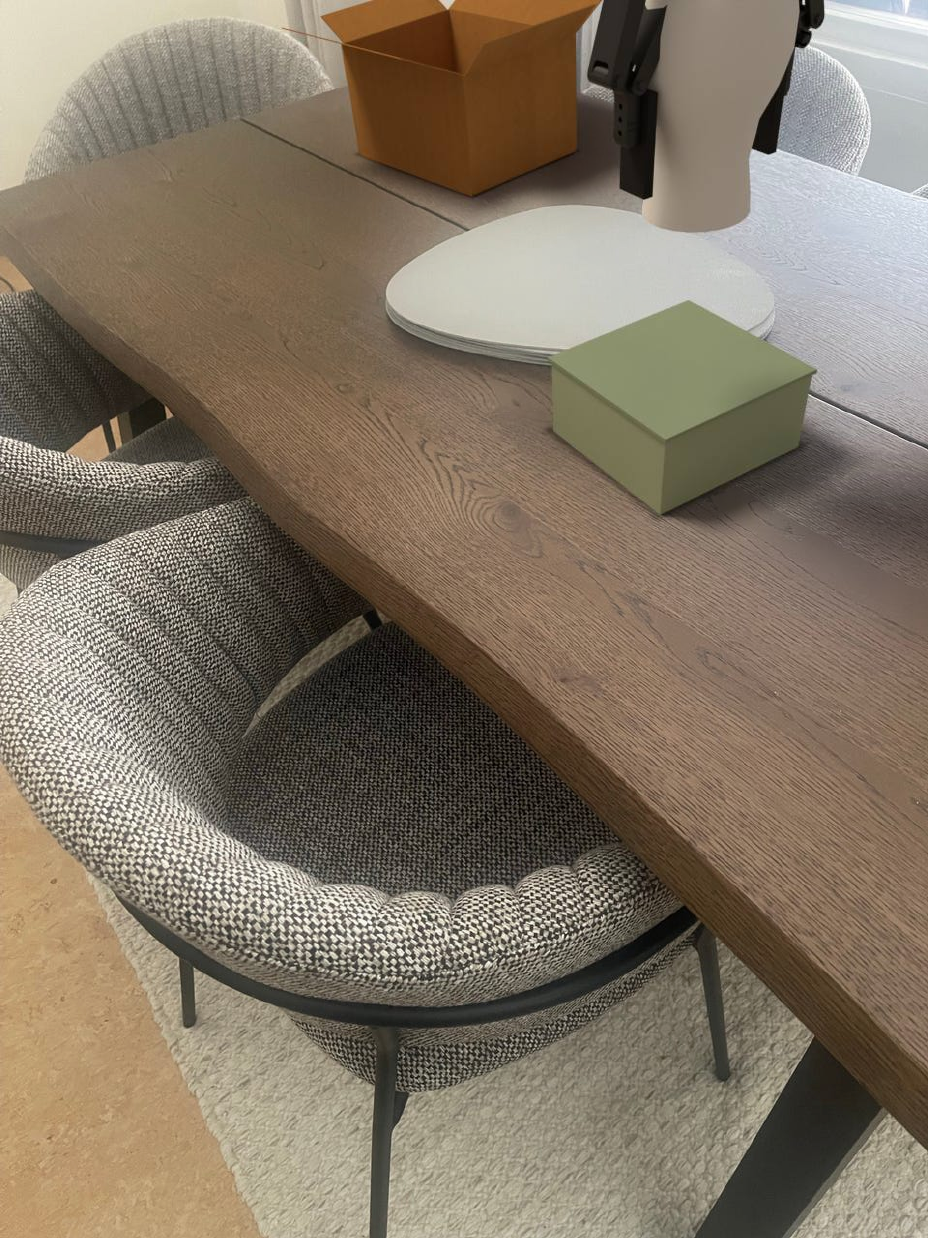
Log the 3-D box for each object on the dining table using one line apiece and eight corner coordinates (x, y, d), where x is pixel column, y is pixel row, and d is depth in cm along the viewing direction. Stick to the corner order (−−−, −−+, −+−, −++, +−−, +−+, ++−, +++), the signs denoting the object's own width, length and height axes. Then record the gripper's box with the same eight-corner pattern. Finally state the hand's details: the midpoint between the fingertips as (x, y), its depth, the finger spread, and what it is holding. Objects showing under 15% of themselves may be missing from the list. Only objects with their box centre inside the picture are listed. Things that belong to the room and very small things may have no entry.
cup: (739, 253, 63) (771, -9, 52) (596, 230, 68) (599, -15, 57) (791, 192, 69) (829, -54, 58) (657, 175, 73) (669, -56, 63)
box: (440, 227, 126) (421, 54, 111) (292, 165, 147) (260, 14, 133) (638, 139, 142) (644, -23, 127) (478, 95, 163) (467, -48, 148)
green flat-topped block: (801, 447, 85) (817, 369, 79) (659, 517, 80) (665, 439, 74) (682, 373, 95) (688, 299, 90) (550, 431, 90) (547, 357, 85)
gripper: (837, -281, 56) (781, 115, 72) (518, -224, 49) (534, 201, 65) (941, -285, 52) (857, 139, 67) (606, -223, 45) (600, 235, 60)
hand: (698, 170), depth 66 cm, fingers closed on cup, 11 cm apart
